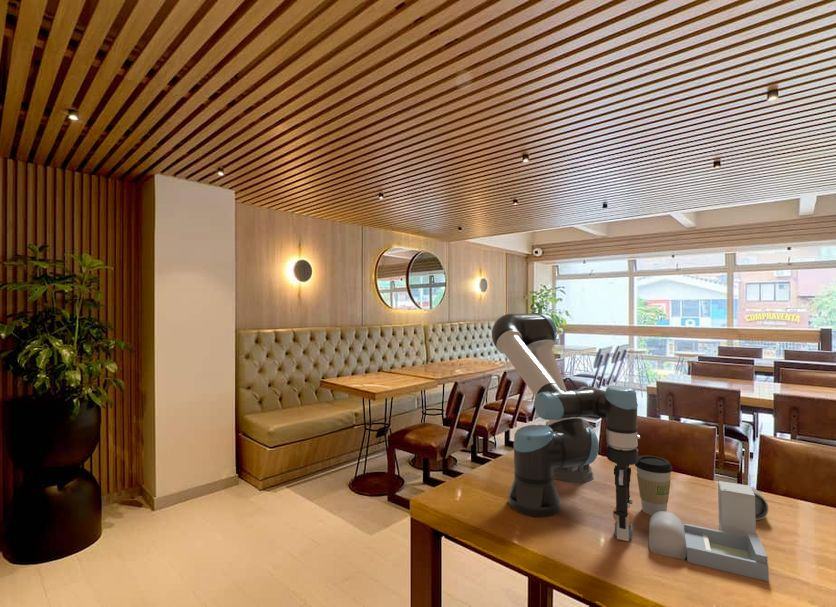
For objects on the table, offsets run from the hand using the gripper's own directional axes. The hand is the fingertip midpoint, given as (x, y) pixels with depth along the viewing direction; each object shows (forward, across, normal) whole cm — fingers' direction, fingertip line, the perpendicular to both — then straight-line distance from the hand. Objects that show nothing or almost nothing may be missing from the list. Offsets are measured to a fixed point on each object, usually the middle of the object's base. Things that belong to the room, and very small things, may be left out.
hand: (623, 533), depth 112 cm
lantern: (0, +37, +20) cm, 42 cm away
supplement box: (+1, +14, -26) cm, 29 cm away
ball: (-5, 0, 0) cm, 5 cm away
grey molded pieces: (+2, 0, -13) cm, 14 cm away
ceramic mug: (+1, +30, -30) cm, 42 cm away
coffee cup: (+1, +19, -7) cm, 20 cm away
